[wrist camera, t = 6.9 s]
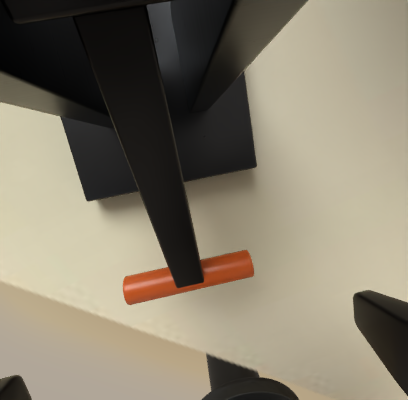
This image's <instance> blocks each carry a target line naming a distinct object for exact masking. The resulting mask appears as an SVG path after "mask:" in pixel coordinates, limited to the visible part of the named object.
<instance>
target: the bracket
mask: <svg viewBox="0 0 408 400" xmlns="http://www.w3.org/2000/svg"><path fill="white" fill-rule="evenodd" d="M307 1H308V0H175V1H168V2H162V3H156V4H149V5H147V10H148V15H149V19H150V24H151V29H152V34H153V38H154V43H155V48H156V53H157V57H158V62H159V67H160V72H161V76H162V81H163V86H164V91H165V95H166V100H167V105H168V110H169V114H170V119H171V124H172V128H173V133H174V138H175V143H176V147H177V152H178V157H179V162H180V166H181V171H182V176H183V181H184V182H187V181H192V180H197V179H202V178H207V177H212V176H217V175H222V174H227V173H232V172H237V171H242V170H247V169H252V168H256V167H257V163H256V156H255V148H254V141H253V134H252V126H251V119H250V111H249V104H248V97H247V89H246V82H245V75H244V70H245V69H246V68H247V67H248V66H249V65H250V64H251V62H252V61H253V60H254V59H255V58H256V57H257V56H258V55H259V54H260V53H261V51H262V50H263V49H264V48H265V47H266V46H267V45H268V44H269V43H270V42H271V41H272V39H273V38H274V37H275V36H276V35H277V34H278V33H279V32H280V31H281V30H282V28H283V27H284V26H285V25H286V24H287V23H288V22H289V21H290V20H291V19H292V18H293V16H294V15H295V14H296V13H297V12H298V11H299V10H300V9H301V8H302V7H303V5H304V4H305V3H306V2H307ZM0 102H3V103H7V104H11V105H15V106H19V107H24V108H28V109H32V110H36V111H40V112H44V113H49V114H53V115H57V116H60V117H61V120H62V123H63V126H64V129H65V133H66V136H67V139H68V142H69V146H70V149H71V152H72V155H73V159H74V162H75V165H76V168H77V172H78V175H79V178H80V181H81V184H82V188H83V191H84V194H85V197H86V200H87V201H94V200H98V199H103V198H108V197H113V196H118V195H123V194H128V193H133V192H138V191H139V189H138V187H137V184H136V182H135V179H134V177H133V174H132V171H131V169H130V166H129V164H128V161H127V158H126V156H125V153H124V151H123V148H122V145H121V143H120V140H119V138H118V135H117V132H116V130H115V127H114V125H113V122H112V119H111V117H110V114H109V112H108V109H107V106H106V104H105V101H104V99H103V96H102V94H101V91H100V88H99V86H98V83H97V81H96V78H95V75H94V73H93V70H92V68H91V65H90V62H89V60H88V57H87V55H86V52H85V49H84V47H83V44H82V42H81V39H80V36H79V34H78V31H77V29H76V26H75V23H74V21H73V18H72V17H66V18H59V19H53V20H47V21H40V22H34V23H27V24H21V25H20V24H17V23H14V22H13V21H12V20H11V19H10V18H9V16H8V14H7V12H6V10H5V8H4V6H3V4H2V3H1V1H0Z"/></svg>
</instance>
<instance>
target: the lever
mask: <svg viewBox="0 0 408 400" xmlns="http://www.w3.org/2000/svg"><path fill="white" fill-rule="evenodd" d="M0 1H1V3H2V4H3V6H4V8H5V10H6V12H7V14H8V16H9V18H10V19H11V20H12V21H13V22H14V23H17V24H20V25H21V24H27V23H34V22H40V21H47V20H53V19H59V18H66V17H72V18H73V21H74V23H75V26H76V29H77V31H78V34H79V36H80V39H81V42H82V44H83V47H84V49H85V52H86V55H87V57H88V60H89V62H90V65H91V68H92V70H93V73H94V75H95V78H96V81H97V83H98V86H99V88H100V91H101V94H102V96H103V99H104V101H105V104H106V106H107V109H108V112H109V114H110V117H111V119H112V122H113V125H114V127H115V130H116V132H117V135H118V138H119V140H120V143H121V145H122V148H123V151H124V153H125V156H126V158H127V161H128V164H129V166H130V169H131V171H132V174H133V177H134V179H135V182H136V184H137V187H138V189H139V192H140V195H141V197H142V200H143V202H144V205H145V208H146V210H147V213H148V215H149V218H150V221H151V223H152V226H153V228H154V231H155V234H156V236H157V239H158V241H159V244H160V247H161V249H162V252H163V254H164V257H165V260H166V262H167V265H168V267H166V268H162V269H157V270H153V271H148V272H144V273H139V274H135V275H130V276H126V277H125V278H124V281H123V293H124V298H125V301H126V303H127V304H128V305H132V304H136V303H141V302H145V301H149V300H154V299H158V298H162V297H167V296H171V295H175V294H180V293H184V292H188V291H193V290H197V289H201V288H206V287H210V286H214V285H219V284H223V283H227V282H232V281H236V280H240V279H245V278H249V277H253V276H254V268H253V263H252V259H251V256H250V254H249V252H248V251H247V250H242V251H238V252H233V253H229V254H224V255H220V256H215V257H211V258H206V259H202V260H200V256H199V252H198V247H197V242H196V238H195V233H194V228H193V223H192V219H191V214H190V209H189V204H188V200H187V195H186V190H185V185H184V181H183V176H182V171H181V166H180V162H179V157H178V152H177V147H176V143H175V138H174V133H173V128H172V124H171V119H170V114H169V110H168V105H167V100H166V95H165V91H164V86H163V81H162V76H161V72H160V67H159V62H158V57H157V53H156V48H155V43H154V38H153V34H152V29H151V24H150V19H149V15H148V10H147V5H149V4H156V3H162V2H168V1H175V0H0Z"/></svg>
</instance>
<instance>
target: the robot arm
mask: <svg viewBox="0 0 408 400" xmlns="http://www.w3.org/2000/svg"><path fill="white" fill-rule="evenodd" d="M353 305H354V319H355V323H356V325H357V327H358V328H359V330H360V331H361V333H362V334H363V336H364V337H365V338H366V340H367V341H368V343H369V344H370V345H371V347H372V348H373V350H374V351H375V352H376V354H377V355H378V357H379V358H380V360H381V361H382V362H383V364H384V365H385V367H386V368H387V369H388V371H389V372H390V374H391V375H392V376H393V378H394V379H395V380H396V382H397V383H398V384H399V386H400V387H401V388H402V390H403V391H404V392H405V393H406V394H407V396H408V303H407V302H404V301H401V300H398V299H395V298H392V297H389V296H386V295H383V294H380V293H377V292H374V291H371V290H366V291H362V292H358V293H355V294H354V296H353ZM0 400H32V399H31V396H30V394H29V392H28V389H27V387H26V385H25V383H24V381H23V379H22V377H21V376H19V375H14V376H10V377H6V378H2V379H0Z"/></svg>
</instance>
